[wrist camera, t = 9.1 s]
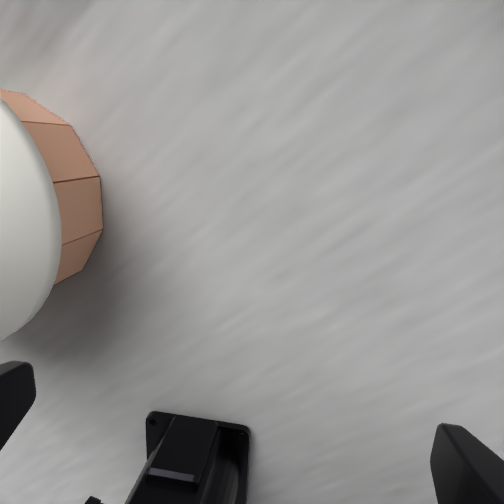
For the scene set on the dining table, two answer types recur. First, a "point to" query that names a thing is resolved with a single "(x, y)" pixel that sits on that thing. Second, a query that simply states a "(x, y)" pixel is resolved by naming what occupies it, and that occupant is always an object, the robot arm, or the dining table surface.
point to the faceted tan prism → (65, 180)
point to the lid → (25, 226)
